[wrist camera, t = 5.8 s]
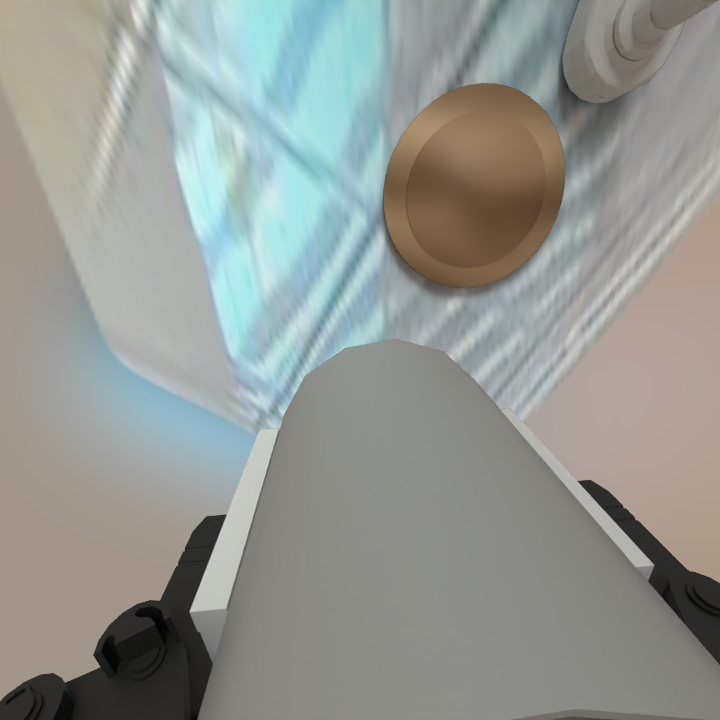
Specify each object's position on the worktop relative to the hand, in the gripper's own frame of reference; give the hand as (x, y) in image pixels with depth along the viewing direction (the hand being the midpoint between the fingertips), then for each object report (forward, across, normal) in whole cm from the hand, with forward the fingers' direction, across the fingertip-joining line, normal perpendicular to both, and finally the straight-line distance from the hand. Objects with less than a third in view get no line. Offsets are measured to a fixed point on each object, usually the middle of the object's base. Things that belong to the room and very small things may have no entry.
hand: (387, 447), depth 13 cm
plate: (+14, +8, +10) cm, 19 cm away
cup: (+1, 0, 0) cm, 1 cm away
